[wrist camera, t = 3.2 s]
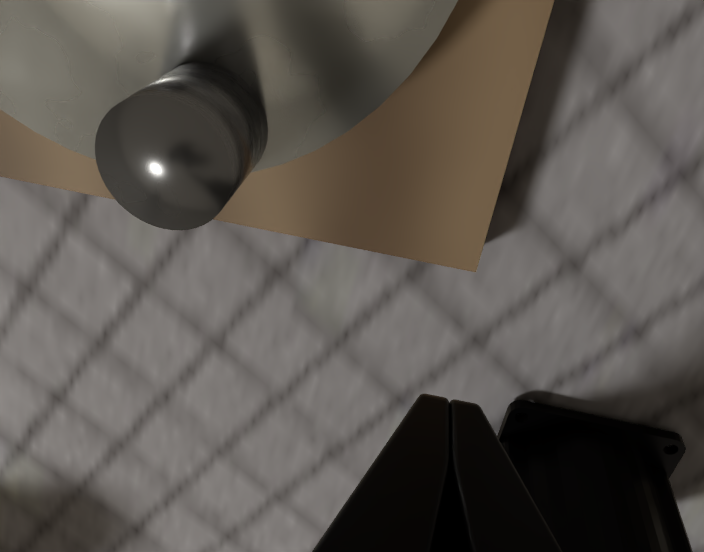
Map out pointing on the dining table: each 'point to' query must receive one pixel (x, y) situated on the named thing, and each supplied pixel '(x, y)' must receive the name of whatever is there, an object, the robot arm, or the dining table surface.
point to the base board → (379, 150)
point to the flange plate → (242, 32)
